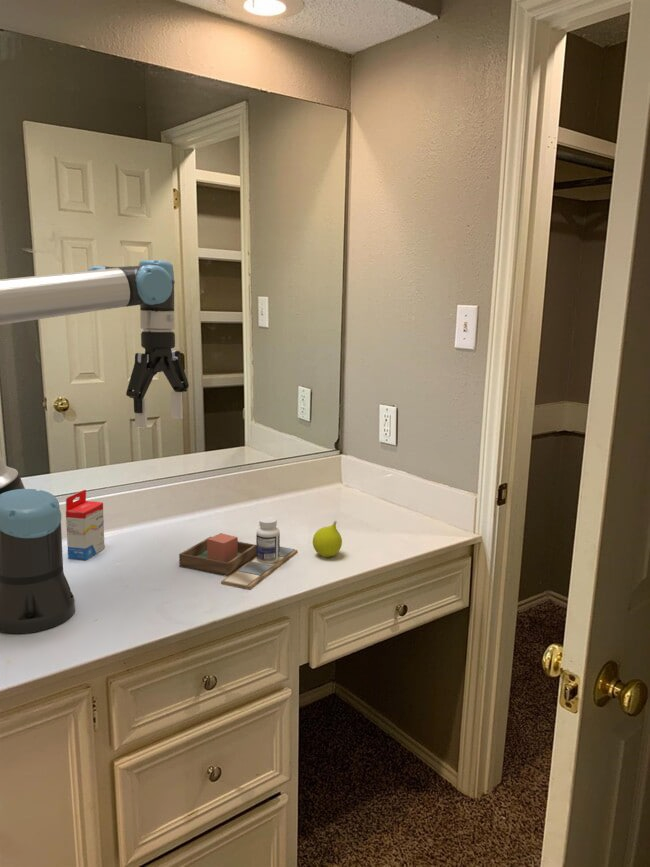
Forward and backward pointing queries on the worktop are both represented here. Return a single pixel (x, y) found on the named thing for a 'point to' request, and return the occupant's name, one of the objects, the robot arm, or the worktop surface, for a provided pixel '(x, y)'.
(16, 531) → the robot arm
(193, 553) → the dice tray
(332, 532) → the green gourd
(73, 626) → the worktop surface
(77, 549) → the ink box
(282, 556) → the board
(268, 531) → the pill bottle
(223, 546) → the salmon red cube
